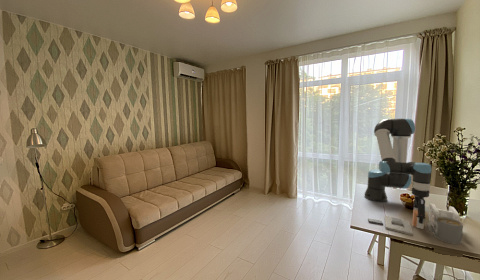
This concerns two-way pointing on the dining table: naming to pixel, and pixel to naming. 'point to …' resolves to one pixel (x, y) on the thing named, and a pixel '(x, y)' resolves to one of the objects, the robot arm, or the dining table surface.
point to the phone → (375, 221)
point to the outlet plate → (400, 222)
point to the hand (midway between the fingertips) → (417, 222)
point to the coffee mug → (447, 229)
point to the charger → (415, 218)
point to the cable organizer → (442, 213)
